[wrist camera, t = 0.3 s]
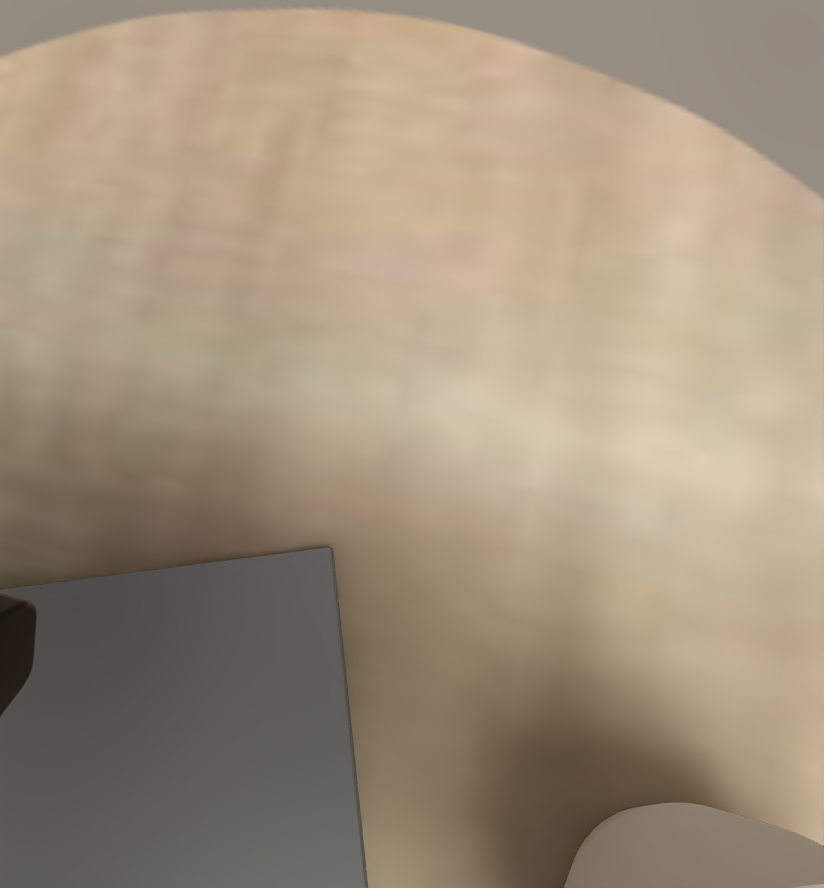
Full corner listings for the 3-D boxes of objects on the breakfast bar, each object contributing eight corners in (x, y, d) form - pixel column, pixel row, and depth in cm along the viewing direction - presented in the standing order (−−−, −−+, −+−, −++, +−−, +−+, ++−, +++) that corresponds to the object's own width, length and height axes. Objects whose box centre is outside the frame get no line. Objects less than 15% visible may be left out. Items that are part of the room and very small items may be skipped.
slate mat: (386, 1062, 20) (384, 1082, 19) (-129, 1134, 19) (-153, 1157, 19) (332, 548, 22) (329, 546, 22) (-117, 606, 22) (-137, 607, 21)
